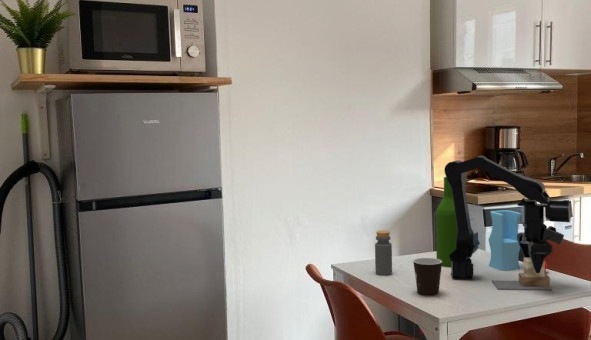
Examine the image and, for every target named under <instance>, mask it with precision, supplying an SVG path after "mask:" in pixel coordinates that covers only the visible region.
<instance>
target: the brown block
mask: <svg viewBox="0 0 591 340" xmlns="http://www.w3.org/2000/svg"><path fill="white" fill-rule="evenodd" d="M550 280H551V279H550V276H549V275H548V274H546V273H545V277H527V276H526V275H525V274H524V272H518V281H519V283H520V284H521V285H522V286H527V287H550V288H551V285H550V284H551V282H550Z"/></svg>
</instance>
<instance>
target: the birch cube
mask: <svg viewBox="0 0 591 340" xmlns="http://www.w3.org/2000/svg"><path fill="white" fill-rule="evenodd" d="M545 262H546V260H545V261H543V265H542V268H541V271H540V273H536V272H535V269H534V266H533V263H532V261H531V258H525V257H523V273H524V274H525V275H526V276H527V277H545V274H546V273H545V272H546V270H545Z"/></svg>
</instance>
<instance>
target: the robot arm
mask: <svg viewBox="0 0 591 340" xmlns="http://www.w3.org/2000/svg"><path fill="white" fill-rule="evenodd" d="M477 169H478V170H481V171H483V172H485V173H487V174H488V175H491V176H492V177H494V178H497V179H498V180H499V181H501V182H502V181H503V182H504V183H506V184H508V185H509V186H510V187H513V188H514V189H515V190H516V191H517V192H518V193H519V194H521V195H522V196H523V198H521V200H520V202H518V203H517V206H518V207H523V222H522V227H523V232H518V233H519V234H518V235H517V241H518V244H519V246H520V251H521V252H522V254H523V258H531V261H532V263H533V266H534V269H535V272H536V273H540V271H541V268H542V265H543V261H544V260H545V259H546V258H547V256H550V255H551V254H553V251H554V246H552V244H551V243H549V242H548V241H550V242H554V243H556V244H557V245H562V243H563V239H564V237H565V234H563V233H561V232H559V231H557V228H556V227H555V226H552V225H549V226H547V224H545V218H546V219H547V220H548V221H549V222H557V223H571V219H572V217H571V216H572V215H571V214H572V210H571V205H570V199H563V200H562V199H561V200H559V199H552V197H551V196H550V195H549V194H548V193H547V191H546V186H545V184H544V183H543V182H542V181H541V180H538V179H535V178H533V177H528V176H525V175H520V174H518V173H516V172H514V171H512V170H510V169H508V168H506V167H504V166H503V165H500V164H498V163H496V162H494V161H493V160H491V159H488V158H487V157H486V156H485V155H479V156H476V157H474V158H473V157H472V158H471V159H467V160H464V161H462V160H458V159H457V160H453V161H449V162H447V164H445V166H444V170H443V171H444V172H443V173H444V175H445V177H446V178H447V181H448V183H449V185H450V186H451V189H452V194H453V201H454V208H455V214H456V221H457V228H458V232H457V238H456V250H454V251H453V252H452V253H451V254H450V255H449V257H450V260H451V267H450V269H451V273H450V276H451V278H452V280H473V279H474V278H473V277H474V263H473V262H472V259H471V258H472V256H473V254H475V253H476V252H477V251H478V249H479V245H480V244H481V242H480V241H479V232H478V231H477V232H474V230H473V229H472V225H471V220H470V219H471V218H470V213H469V206H468V205H469V204H468V198H467V192H466V183H467V178H468V177H467V174H468V172H470V171H474V170H477ZM527 199H528V200H527Z"/></svg>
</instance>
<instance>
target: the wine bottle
mask: <svg viewBox="0 0 591 340" xmlns="http://www.w3.org/2000/svg"><path fill="white" fill-rule="evenodd" d="M437 206H438V207H437V208H436V211H435V232H436V233H435V234H436V235H435V236H436V237H435V241H436V242H435V243H436V244H435V245H436V247H435V248H436V252H435V253H436V259H439V260H441V261H442V266H441V267H444V268H451V260H450V257H449V255H450V254H451V253H452V252H453V251H454V250H456V238H457V232H458V228H457V221H456V214H455V208H454V201H453V194H452V189H451V186H450V185H449V183H448V181H447V178H446V176H444V177H443V197H442V199H441V201H440V203H439V204H438V205H437Z"/></svg>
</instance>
